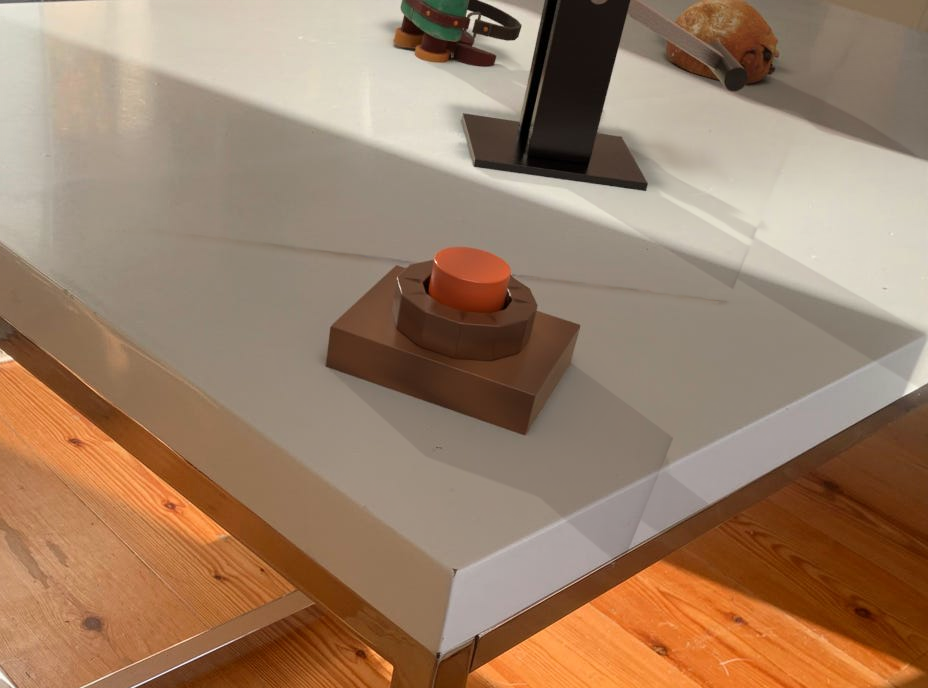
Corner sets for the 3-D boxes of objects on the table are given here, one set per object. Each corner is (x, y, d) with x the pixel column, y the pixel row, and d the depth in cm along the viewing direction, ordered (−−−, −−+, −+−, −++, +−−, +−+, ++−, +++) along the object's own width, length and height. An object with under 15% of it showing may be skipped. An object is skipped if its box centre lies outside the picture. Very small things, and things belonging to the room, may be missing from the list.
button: (513, 295, 54) (521, 261, 53) (489, 325, 51) (497, 289, 50) (443, 273, 54) (449, 239, 53) (416, 301, 51) (422, 265, 50)
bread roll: (697, 86, 115) (689, 1, 112) (796, 71, 109) (790, -20, 106) (654, 102, 108) (644, 11, 105) (756, 86, 102) (749, -11, 99)
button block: (570, 363, 57) (590, 291, 54) (525, 436, 51) (544, 359, 48) (390, 303, 59) (401, 231, 56) (325, 367, 53) (334, 289, 50)
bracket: (617, 152, 84) (671, -51, 75) (643, 200, 77) (706, -17, 68) (459, 129, 82) (496, -83, 73) (471, 176, 75) (514, -51, 66)
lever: (710, 73, 79) (731, 42, 78) (734, 101, 74) (757, 68, 73) (555, -25, 74) (575, -61, 73) (570, -1, 70) (592, -39, 68)
